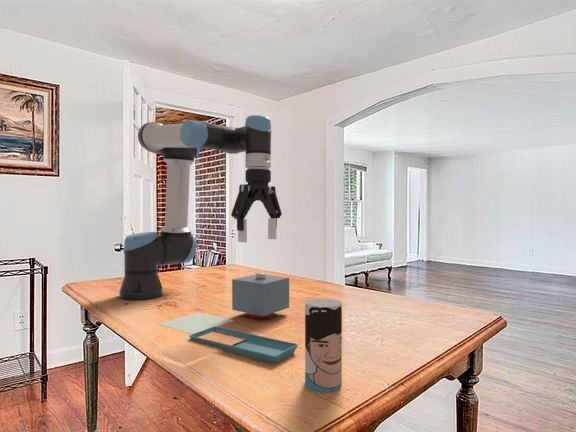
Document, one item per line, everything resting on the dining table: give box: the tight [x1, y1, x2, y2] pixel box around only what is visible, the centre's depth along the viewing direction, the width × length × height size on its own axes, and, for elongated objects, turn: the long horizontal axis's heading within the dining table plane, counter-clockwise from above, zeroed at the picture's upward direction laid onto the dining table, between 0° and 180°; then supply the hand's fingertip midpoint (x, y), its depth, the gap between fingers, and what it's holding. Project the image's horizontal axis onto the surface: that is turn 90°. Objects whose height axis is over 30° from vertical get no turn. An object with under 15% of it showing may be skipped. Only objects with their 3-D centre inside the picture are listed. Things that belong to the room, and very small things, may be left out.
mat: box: [157, 311, 236, 335], centre depth 109 cm, size 15×15×1 cm
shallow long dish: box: [189, 326, 299, 365], centre depth 91 cm, size 26×9×2 cm, turn 56°
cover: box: [231, 272, 290, 316], centre depth 116 cm, size 12×12×10 cm
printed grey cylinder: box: [304, 297, 343, 393], centre depth 72 cm, size 7×7×15 cm
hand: (258, 240), depth 116 cm, fingers open, 13 cm apart
